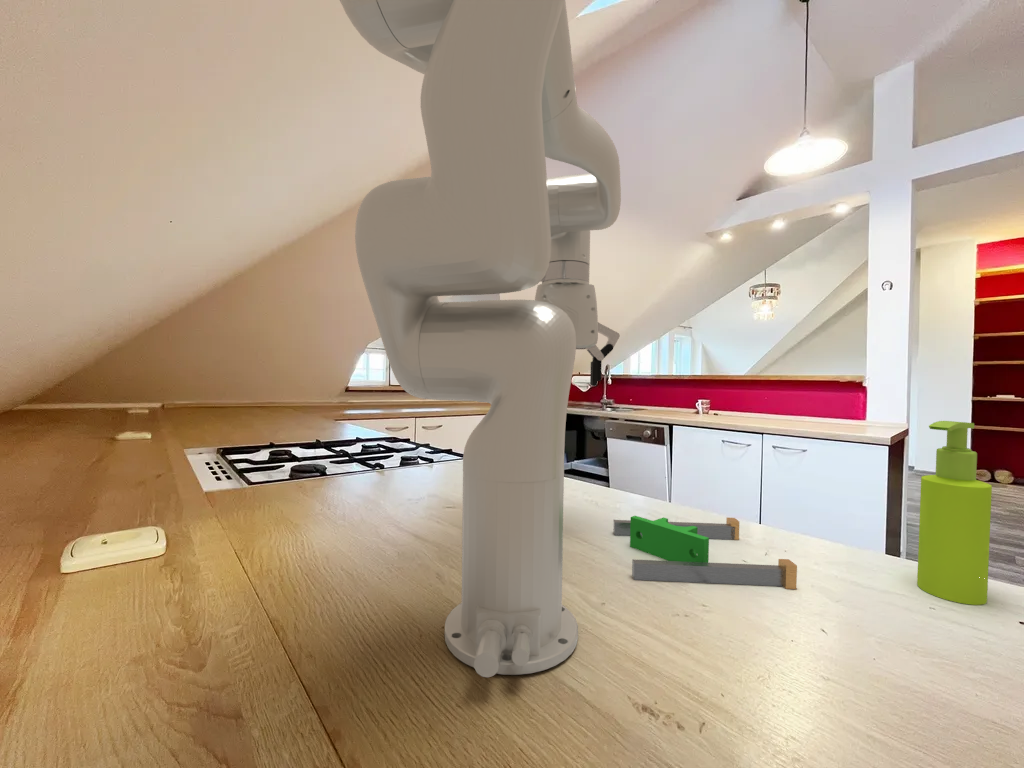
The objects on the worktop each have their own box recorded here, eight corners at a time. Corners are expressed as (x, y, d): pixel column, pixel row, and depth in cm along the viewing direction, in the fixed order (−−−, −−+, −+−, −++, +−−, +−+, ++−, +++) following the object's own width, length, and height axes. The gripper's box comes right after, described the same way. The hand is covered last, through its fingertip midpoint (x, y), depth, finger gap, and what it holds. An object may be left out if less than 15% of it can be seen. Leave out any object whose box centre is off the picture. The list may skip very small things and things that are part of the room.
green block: (718, 568, 60) (719, 533, 60) (703, 575, 57) (704, 539, 57) (644, 541, 68) (645, 511, 68) (629, 547, 66) (630, 516, 66)
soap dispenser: (901, 587, 54) (907, 419, 54) (933, 577, 57) (939, 418, 57) (965, 611, 49) (973, 425, 49) (997, 599, 52) (1005, 423, 51)
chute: (796, 589, 54) (797, 565, 53) (634, 582, 55) (635, 558, 55) (734, 535, 71) (734, 517, 71) (612, 531, 72) (613, 513, 72)
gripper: (510, 272, 70) (508, 384, 70) (624, 273, 69) (622, 386, 69) (512, 282, 77) (510, 384, 77) (615, 283, 76) (613, 386, 77)
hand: (563, 385), depth 73 cm, fingers open, 9 cm apart
